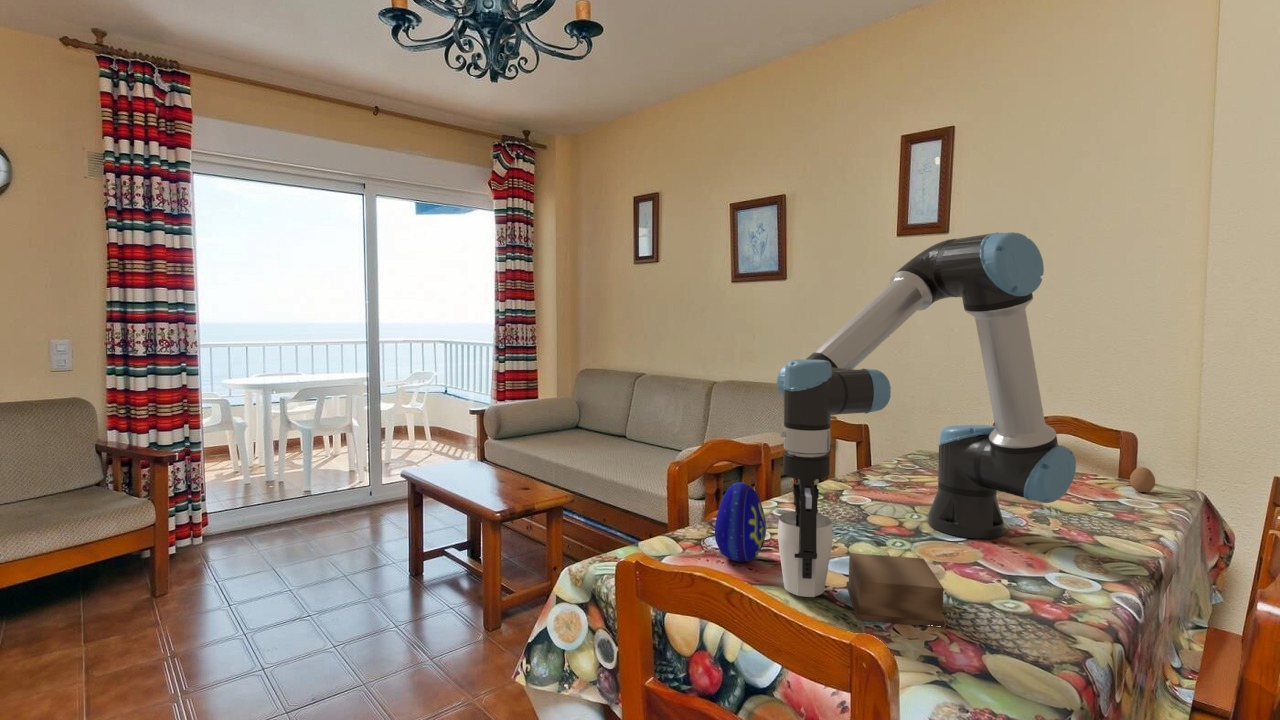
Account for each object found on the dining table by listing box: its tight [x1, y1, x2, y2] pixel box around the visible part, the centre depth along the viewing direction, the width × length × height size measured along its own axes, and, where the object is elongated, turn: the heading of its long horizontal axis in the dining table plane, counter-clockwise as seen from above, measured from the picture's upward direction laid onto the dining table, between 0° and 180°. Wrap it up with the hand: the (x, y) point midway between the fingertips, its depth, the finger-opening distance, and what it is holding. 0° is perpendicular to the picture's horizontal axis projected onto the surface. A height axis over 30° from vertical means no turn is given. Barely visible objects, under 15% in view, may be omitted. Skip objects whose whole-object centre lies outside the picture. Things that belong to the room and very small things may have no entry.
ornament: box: [714, 481, 767, 563], centre depth 121 cm, size 11×9×15 cm
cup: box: [777, 511, 834, 598], centre depth 107 cm, size 9×9×12 cm
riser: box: [846, 552, 946, 628], centre depth 102 cm, size 13×13×6 cm
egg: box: [1129, 466, 1156, 493], centre depth 171 cm, size 5×5×7 cm
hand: (804, 583), depth 107 cm, fingers closed on cup, 9 cm apart
